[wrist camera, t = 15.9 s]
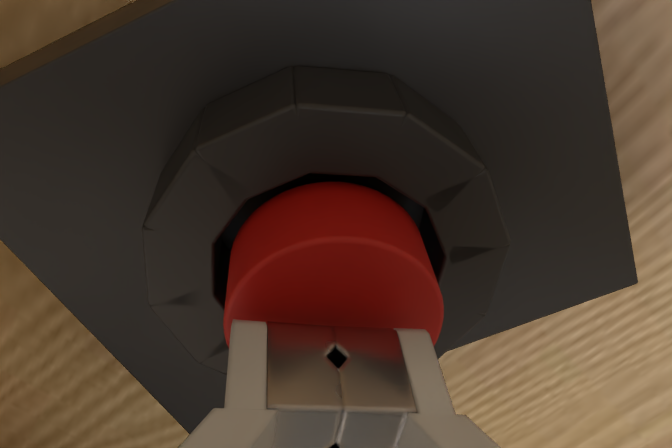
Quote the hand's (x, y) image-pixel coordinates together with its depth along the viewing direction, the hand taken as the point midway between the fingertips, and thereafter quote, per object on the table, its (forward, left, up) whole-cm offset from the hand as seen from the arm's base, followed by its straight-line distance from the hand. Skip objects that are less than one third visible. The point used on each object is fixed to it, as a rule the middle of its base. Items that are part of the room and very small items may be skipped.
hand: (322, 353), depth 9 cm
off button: (0, 0, -2) cm, 2 cm away
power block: (0, 0, -6) cm, 6 cm away
